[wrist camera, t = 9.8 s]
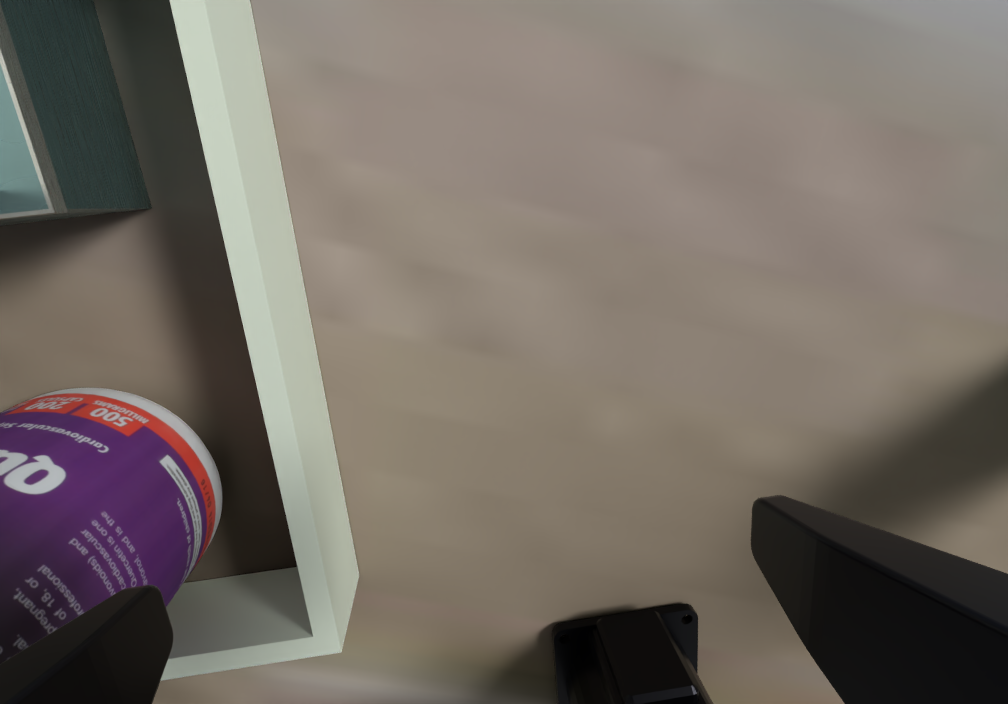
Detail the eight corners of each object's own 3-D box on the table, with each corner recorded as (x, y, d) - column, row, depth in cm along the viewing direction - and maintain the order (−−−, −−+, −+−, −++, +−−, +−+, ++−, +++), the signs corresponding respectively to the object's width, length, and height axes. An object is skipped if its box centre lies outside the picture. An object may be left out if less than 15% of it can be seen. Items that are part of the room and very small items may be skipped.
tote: (359, 575, 22) (341, 652, 18) (-59, 636, 21) (-172, 732, 17) (234, -83, 16) (168, -174, 12) (-370, -53, 15) (-658, -145, 11)
